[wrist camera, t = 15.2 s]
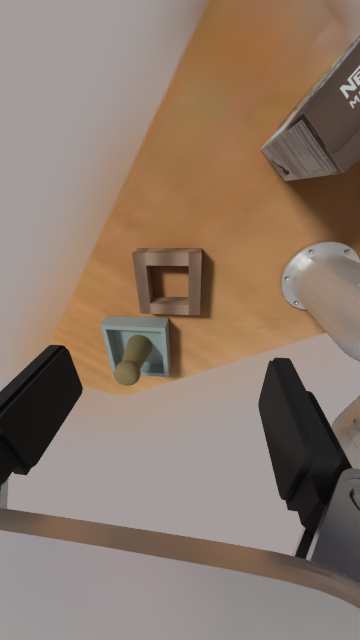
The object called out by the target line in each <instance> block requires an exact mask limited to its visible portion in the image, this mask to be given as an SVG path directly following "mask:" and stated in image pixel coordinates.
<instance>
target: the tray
mask: <svg viewBox="0 0 360 640" xmlns="http://www.w3.org/2000/svg"><path fill="white" fill-rule="evenodd" d="M101 329H102V333H103V337H104V341H105V345H106V349H107V353H108V357H109V361H110V364H111V368H112V372H113V373H114V371H115V368H116V366H117V365H118V364H119V363H120V362H122V359H123V355H124V352H125V349H126V346H127V343H128V340H129V338H130V337H132V336H133V335H143V336H145V337H147V338H148V339H149V340H150V341H151V342H152V346H153V348H152V351H151V352H150V354H149V356H148V357H147V359H146V361H145V362H144V364H143V366H142V367H141V369H140V371H141V374H140V375H147V376H161V377H169V373H170V368H171V356H170V339H169V322H168V318H147V317H122V316H108V317H107V318H106V319H105V320H104V322H103V323H102V324H101Z"/></svg>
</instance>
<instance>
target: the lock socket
mask: <svg viewBox="0 0 360 640" xmlns="http://www.w3.org/2000/svg"><path fill="white" fill-rule="evenodd" d="M132 255H133V262H134V269H135V277H136V284H137V291H138V299H139V306H140V313H146V314H173V315H200V301H201V270H202V249H189V248H138V249H137V250H135V251H134V252H133V253H132ZM151 266H189V297H154V292H153V281H152V270H151Z"/></svg>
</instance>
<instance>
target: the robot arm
mask: <svg viewBox="0 0 360 640" xmlns="http://www.w3.org/2000/svg"><path fill="white" fill-rule="evenodd" d="M309 250H310V252H309ZM285 277H287V278H285ZM280 286H281V291H282V294H283V296H284V297H285V299H286V300H287V301H288V302H289V303H290V304H291V305H292V306H294V307H296V308H299V309H303V310H308V312H309V313H310V314H311V315H312V316H313V317H314V319H315V320H316V321H317V322H318V323H319V324H320V325H321V327H322V328H323V329H324V330H325V331H326V332H327V334H328V335H329V336H330V337H331V338H332V339H333V340H334V342H335V343H336V344H337V345H338V346H339V347H340V348H341V349H342V350H343V351H344V352H345V353H346V354H347V355H349V356H350V357H352V358H354V359H356V360H358V361H360V260H359V257H358V255H357V253H356V252H355V251H354V250H353V249H352V248H351V247H349V246H347V245H345V244H342V243H339V242H334V241H324V242H319V243H315V244H312V245H310V246H308V247H306V248H304V249H302V250H301V251H299V252H298V253H297V254H296V255H295V256H294V257H293V258H292V259H291V260H290V261H289V262H288V264H287V265H286V266H285V268H284V270H283V273H282V276H281V282H280ZM82 390H83V388H82V385H81V382H80V379H79V377H78V374H77V371H76V369H75V366H74V363H73V361H72V358H71V355H70V353H69V350H68V349H66V347H65V346H62V345H50V346H48V347H47V348H46V349H45V350H44V351H43V352H42V353H41V354H40V355H39V356H38V357H36V359H34V360H33V361H32V362H31V363H30V364H29V365H28V366H27V367H26V368H25V369H24V370H23V371H22V372H21V373H20V374H19V375H17V376H16V377H15V378H14V379H13V380H12V381H11V382H10V383H9V384H8V385H7V386H6V387H5V388H4V389H3V390H2V391H1V392H0V640H360V396H359V397H358V398H357V399H356V400H355V401H353V402H352V403H351V404H350V405H349V406H348V407H347V408H346V409H345V410H344V411H343V412H342V413H341V414H340V415H339V416H338V417H337V418H336V419H335V421H334V422H333V424H332V426H330V424H329V422H328V421H327V419H326V417H325V415H324V413H323V411H322V409H321V407H320V406H319V404H318V402H317V400H316V398H315V396H314V395H313V394H312V393H311V392H309V391H306V389H305V388H304V385H303V384H302V382H301V380H300V378H299V376H298V374H297V372H296V370H295V368H294V366H293V364H292V362H291V360H290V359H289V358H274V360H273V361H269V364H268V368H267V371H266V375H265V379H264V383H263V387H262V391H261V394H260V399H259V411H260V416H261V420H262V424H263V428H264V432H265V436H266V441H267V445H268V449H269V453H270V457H271V461H272V466H273V470H274V474H275V478H276V483H277V487H278V491H279V494H280V497H281V499H282V500H286V504H287V508H288V510H292V511H298V514H299V517H300V521H301V524H302V525H303V526H304V528H303V530H302V533H301V535H300V537H299V540H298V542H297V545H296V547H295V550H294V552H293V555H292V556H290V555H286V554H281V553H277V552H272V551H266V550H260V549H255V548H250V547H245V546H239V545H234V544H227V543H222V542H216V541H210V540H204V539H197V538H191V537H185V536H179V535H172V534H166V533H160V532H154V531H147V530H141V529H134V528H128V527H122V526H115V525H109V524H102V523H96V522H89V521H83V520H76V519H70V518H64V517H57V516H50V515H43V514H37V513H30V512H23V511H17V510H10V509H7V496H8V495H7V494H8V477H9V476H10V474H11V473H12V472H14V473H15V474H21V475H27V474H28V472H29V471H30V469H31V468H32V467H33V466H35V465H36V464H37V463H38V461H39V460H40V458H41V457H42V455H43V453H44V452H45V450H46V448H47V447H48V446H49V444H50V443H51V441H52V439H53V438H54V436H55V435H56V433H57V432H58V430H59V428H60V427H61V425H62V424H63V422H64V421H65V419H66V417H67V416H68V414H69V413H70V411H71V410H72V408H73V406H74V405H75V403H76V402H77V400H78V399H79V397H80V395H81V393H82Z"/></svg>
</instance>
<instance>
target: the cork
mask: <svg viewBox="0 0 360 640" xmlns="http://www.w3.org/2000/svg"><path fill="white" fill-rule="evenodd" d="M152 348H153V346H152V342H151V341H150V340H149V339H148V338H147V337H145V336H143V335H133V336H132V337H130V338H129V340H128V343H127V346H126V349H125V352H124V355H123V359H122V362H120V363H119V364H118V365H117V366H116V368H115V371H114V376H115V379H116V380H117V381H118V382H119V383H120V384H122V385H127V386H129V385H133V384H135V383H136V382H137V381H138V380H139V378H140V374H141V371H140V369H141V367H142V366H143V364H144V362H145V361H146V359H147V357H148V356H149V354H150V352H151V351H152Z"/></svg>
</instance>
